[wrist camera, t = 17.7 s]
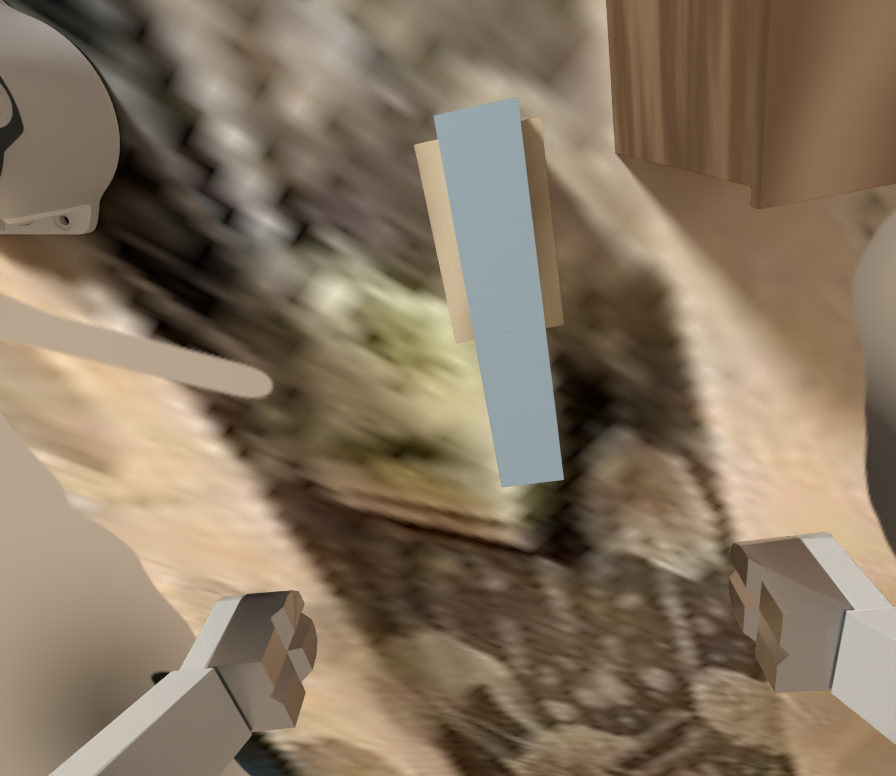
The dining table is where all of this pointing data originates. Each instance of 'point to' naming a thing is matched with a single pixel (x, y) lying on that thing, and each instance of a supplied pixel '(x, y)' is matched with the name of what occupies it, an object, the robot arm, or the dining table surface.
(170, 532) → the dining table surface
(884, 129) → the brown wooden tall block
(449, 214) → the bench
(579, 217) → the dining table surface
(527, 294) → the bar
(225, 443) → the dining table surface
